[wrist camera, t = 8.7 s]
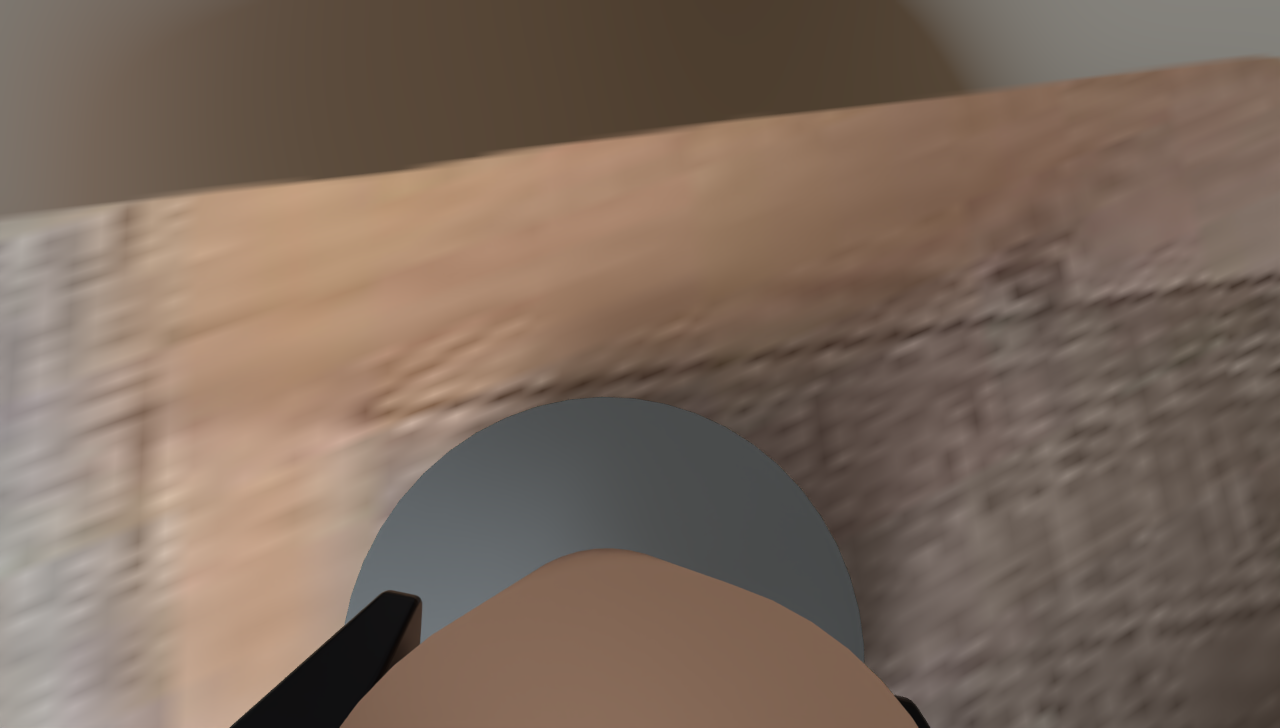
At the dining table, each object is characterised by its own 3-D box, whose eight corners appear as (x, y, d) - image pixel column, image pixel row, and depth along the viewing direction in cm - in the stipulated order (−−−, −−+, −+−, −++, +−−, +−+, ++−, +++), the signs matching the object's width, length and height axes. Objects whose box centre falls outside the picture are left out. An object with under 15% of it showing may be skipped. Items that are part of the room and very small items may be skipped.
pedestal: (912, 584, 23) (959, 593, 20) (657, 995, 20) (668, 1073, 17) (559, 330, 24) (554, 301, 21) (276, 696, 21) (225, 723, 18)
